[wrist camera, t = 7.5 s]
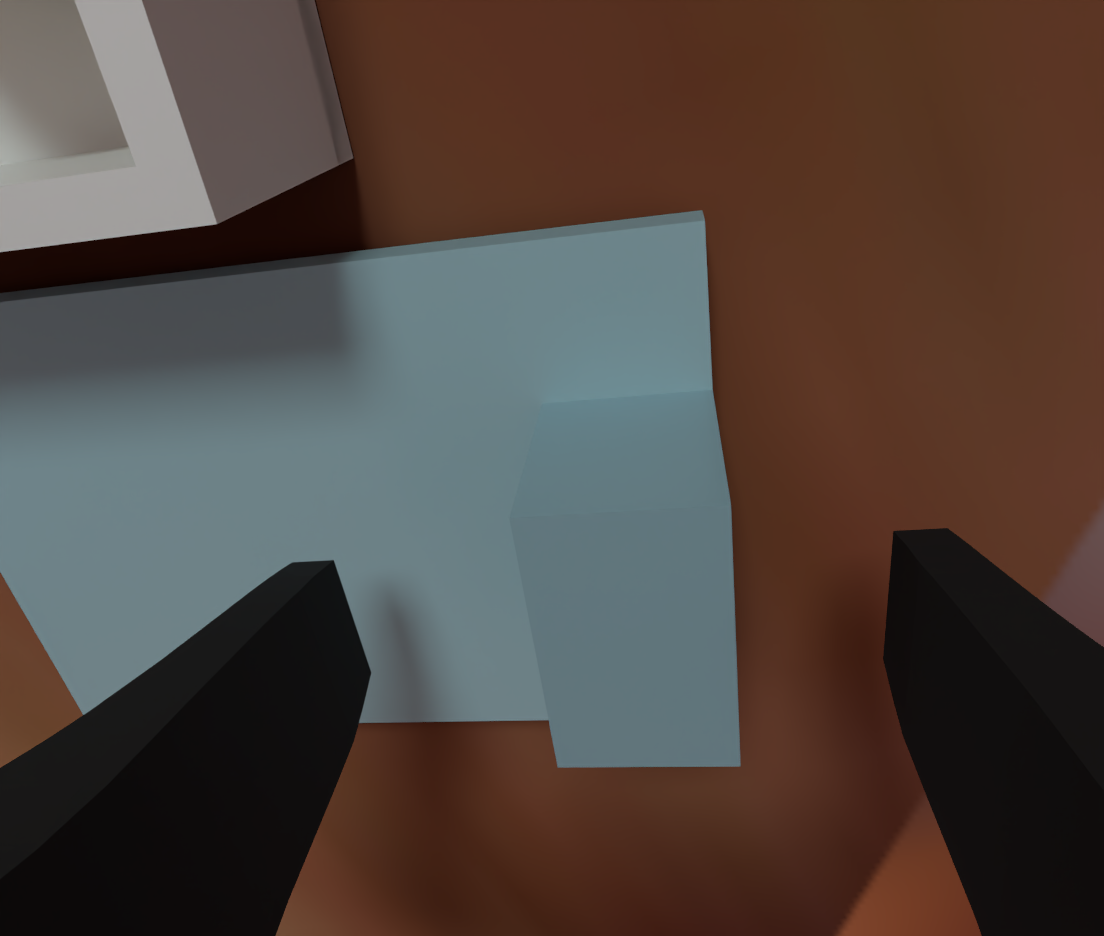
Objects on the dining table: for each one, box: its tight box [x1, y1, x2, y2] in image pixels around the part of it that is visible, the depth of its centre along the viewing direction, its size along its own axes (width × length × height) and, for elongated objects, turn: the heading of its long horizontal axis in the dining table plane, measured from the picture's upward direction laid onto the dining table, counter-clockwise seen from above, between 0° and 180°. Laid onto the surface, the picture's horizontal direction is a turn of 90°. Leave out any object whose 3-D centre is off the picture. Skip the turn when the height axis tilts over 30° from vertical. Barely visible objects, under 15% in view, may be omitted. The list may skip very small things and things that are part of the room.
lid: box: [0, 210, 740, 767], centre depth 12 cm, size 13×9×4 cm
